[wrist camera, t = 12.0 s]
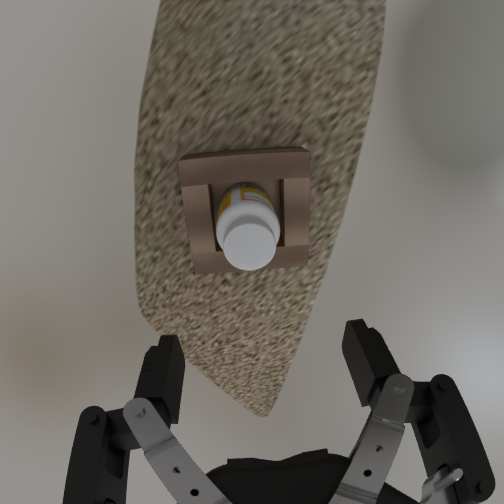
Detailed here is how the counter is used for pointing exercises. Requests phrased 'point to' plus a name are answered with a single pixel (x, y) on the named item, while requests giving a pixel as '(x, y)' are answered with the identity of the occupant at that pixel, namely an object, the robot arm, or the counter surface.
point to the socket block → (257, 172)
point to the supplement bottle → (247, 226)
